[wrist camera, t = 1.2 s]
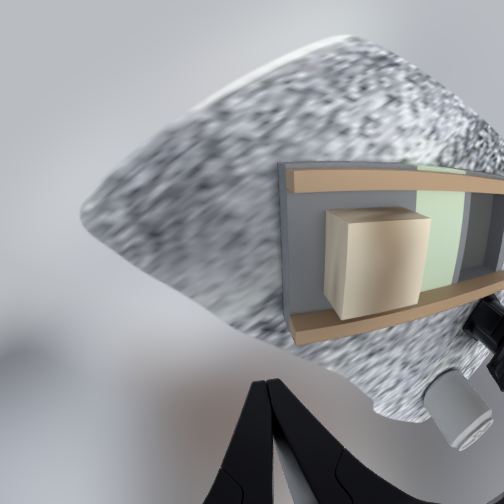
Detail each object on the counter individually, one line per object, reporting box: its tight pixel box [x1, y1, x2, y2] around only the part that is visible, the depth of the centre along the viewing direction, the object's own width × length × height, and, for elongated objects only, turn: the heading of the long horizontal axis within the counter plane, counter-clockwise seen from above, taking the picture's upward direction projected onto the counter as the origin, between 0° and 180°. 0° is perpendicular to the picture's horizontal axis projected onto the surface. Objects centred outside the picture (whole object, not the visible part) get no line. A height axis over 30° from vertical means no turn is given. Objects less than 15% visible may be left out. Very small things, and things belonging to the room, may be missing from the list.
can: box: [423, 370, 493, 451], centre depth 25 cm, size 8×8×12 cm
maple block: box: [324, 206, 431, 320], centre depth 17 cm, size 6×6×4 cm
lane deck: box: [278, 161, 504, 346], centre depth 19 cm, size 26×12×4 cm, turn 94°
